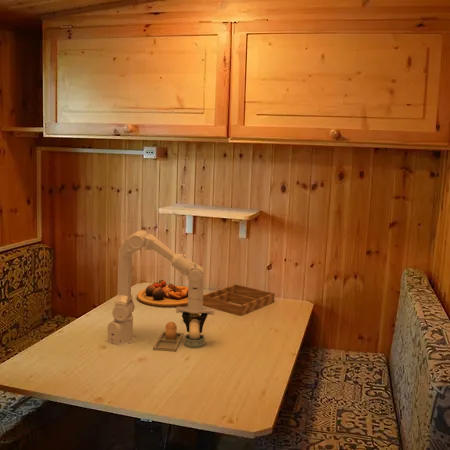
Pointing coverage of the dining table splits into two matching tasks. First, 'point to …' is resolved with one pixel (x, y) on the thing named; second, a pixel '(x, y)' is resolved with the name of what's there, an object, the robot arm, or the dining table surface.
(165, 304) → the wooden plate with food
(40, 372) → the dining table surface
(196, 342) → the octagonal bowl
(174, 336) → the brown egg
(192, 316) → the tape measure
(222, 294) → the wooden compartment tray
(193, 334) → the tan rounded cylinder
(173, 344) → the divided tray
